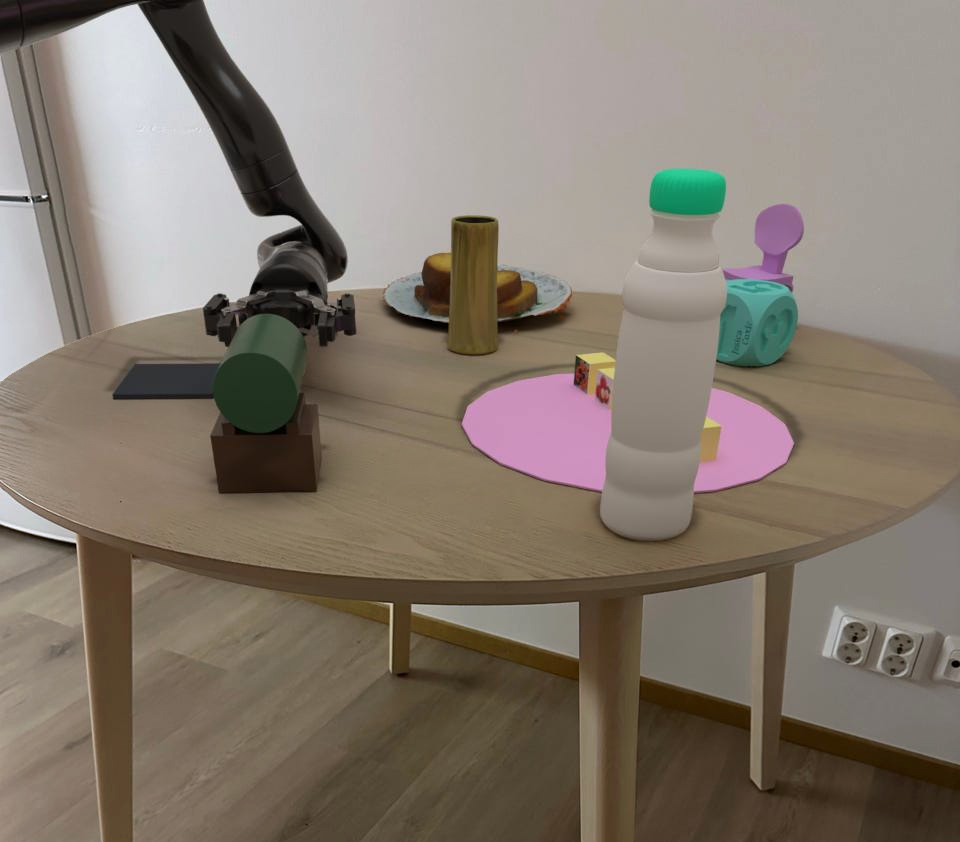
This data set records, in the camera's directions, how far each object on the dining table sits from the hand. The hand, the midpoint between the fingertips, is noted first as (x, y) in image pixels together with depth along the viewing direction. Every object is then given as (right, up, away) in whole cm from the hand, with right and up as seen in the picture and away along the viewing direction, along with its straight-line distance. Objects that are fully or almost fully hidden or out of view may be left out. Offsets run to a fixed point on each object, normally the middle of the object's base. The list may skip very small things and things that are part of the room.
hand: (275, 336), depth 84 cm
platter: (+33, -7, +7) cm, 34 cm away
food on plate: (+18, +17, +42) cm, 49 cm away
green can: (+1, -6, -8) cm, 10 cm away
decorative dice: (+50, +6, +26) cm, 57 cm away
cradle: (+1, -14, -5) cm, 14 cm away
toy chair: (+53, +12, +35) cm, 65 cm away
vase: (+18, +7, +27) cm, 33 cm away
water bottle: (+32, -19, -11) cm, 38 cm away
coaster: (-14, 0, +14) cm, 20 cm away
